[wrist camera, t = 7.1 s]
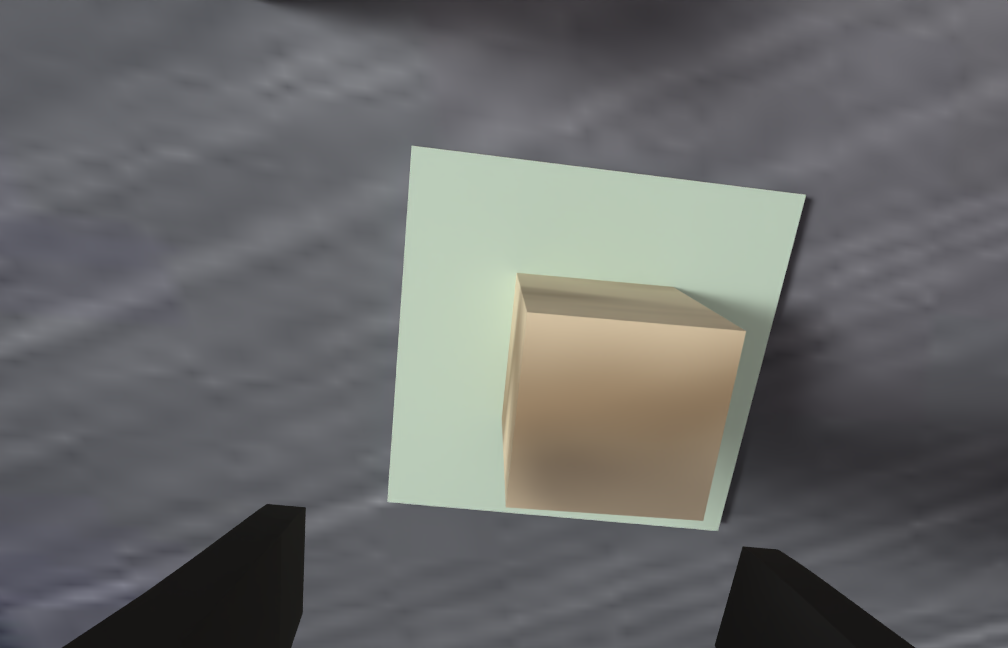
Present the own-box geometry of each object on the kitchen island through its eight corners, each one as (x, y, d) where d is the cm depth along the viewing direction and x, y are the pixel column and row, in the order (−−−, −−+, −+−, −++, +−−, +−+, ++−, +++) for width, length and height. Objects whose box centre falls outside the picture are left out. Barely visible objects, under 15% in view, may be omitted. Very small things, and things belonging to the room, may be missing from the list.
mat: (711, 520, 20) (718, 530, 19) (390, 492, 19) (387, 501, 19) (795, 194, 17) (806, 194, 16) (414, 146, 16) (411, 145, 15)
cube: (646, 429, 18) (703, 521, 13) (501, 418, 18) (505, 507, 13) (673, 286, 17) (746, 331, 12) (516, 272, 17) (527, 312, 12)
